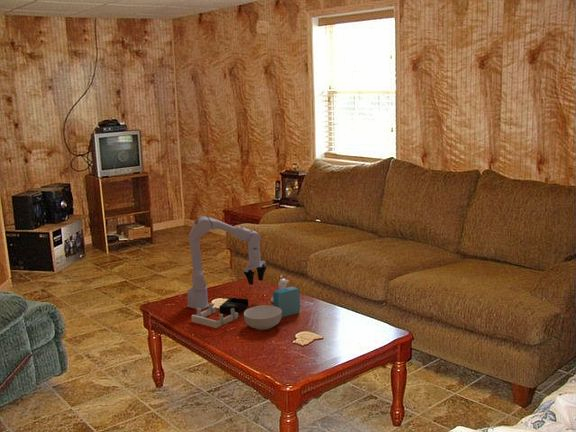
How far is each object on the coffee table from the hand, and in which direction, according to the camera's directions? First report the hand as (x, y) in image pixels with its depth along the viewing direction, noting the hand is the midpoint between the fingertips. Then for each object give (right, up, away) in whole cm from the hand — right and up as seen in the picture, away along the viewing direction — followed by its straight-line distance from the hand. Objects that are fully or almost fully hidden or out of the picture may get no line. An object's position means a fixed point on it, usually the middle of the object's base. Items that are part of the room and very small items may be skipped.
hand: (255, 282), depth 314 cm
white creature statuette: (+13, -10, 0) cm, 17 cm away
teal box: (+16, -13, -17) cm, 27 cm away
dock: (-17, -15, -21) cm, 31 cm away
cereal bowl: (+5, -17, -32) cm, 36 cm away
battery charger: (-10, -13, -10) cm, 19 cm away
